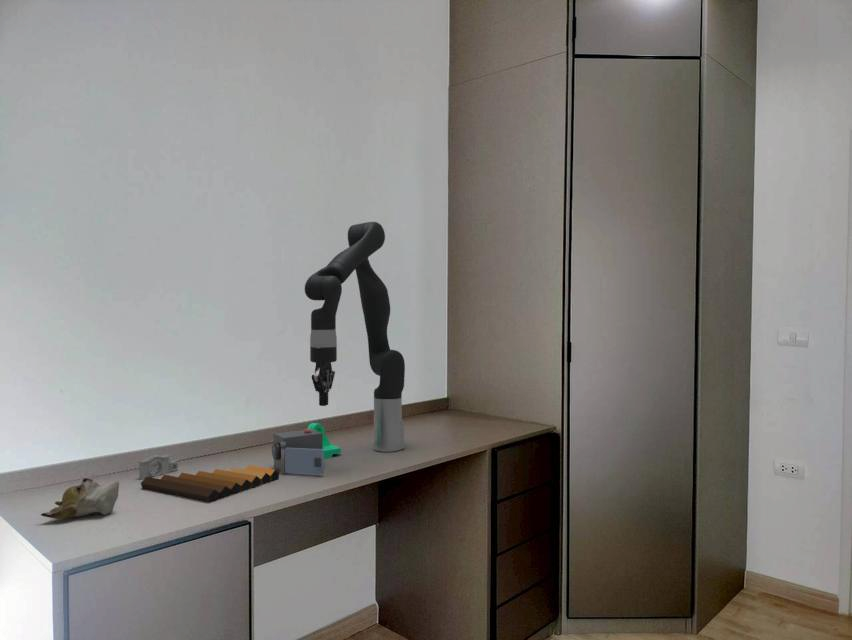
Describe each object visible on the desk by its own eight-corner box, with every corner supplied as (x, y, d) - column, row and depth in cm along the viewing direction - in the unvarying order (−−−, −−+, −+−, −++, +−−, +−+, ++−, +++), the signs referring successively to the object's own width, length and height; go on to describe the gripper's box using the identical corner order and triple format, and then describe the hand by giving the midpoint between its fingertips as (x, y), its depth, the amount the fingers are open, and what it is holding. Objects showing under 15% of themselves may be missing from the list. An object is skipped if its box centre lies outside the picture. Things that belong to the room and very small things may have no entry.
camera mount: (309, 462, 195) (309, 428, 194) (296, 457, 200) (296, 425, 200) (342, 456, 203) (342, 423, 202) (329, 451, 208) (328, 420, 208)
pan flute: (140, 491, 165) (208, 505, 153) (140, 478, 165) (208, 491, 153) (214, 469, 187) (279, 480, 175) (214, 458, 187) (279, 468, 175)
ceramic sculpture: (112, 480, 141) (37, 489, 137) (115, 519, 141) (40, 528, 138) (123, 469, 151) (54, 477, 148) (126, 505, 151) (57, 513, 148)
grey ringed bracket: (175, 469, 185) (174, 449, 185) (179, 470, 184) (179, 450, 184) (137, 479, 175) (137, 458, 175) (141, 480, 174) (141, 458, 174)
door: (323, 473, 178) (323, 449, 178) (321, 475, 176) (321, 450, 176) (282, 471, 180) (282, 447, 180) (279, 473, 179) (279, 448, 179)
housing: (311, 461, 194) (311, 426, 194) (325, 468, 186) (324, 431, 186) (269, 467, 187) (269, 431, 187) (281, 475, 179) (281, 436, 179)
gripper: (319, 343, 190) (319, 401, 190) (302, 346, 177) (302, 408, 177) (343, 344, 188) (343, 402, 189) (327, 346, 175) (328, 409, 176)
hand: (323, 405), depth 183 cm, fingers closed
